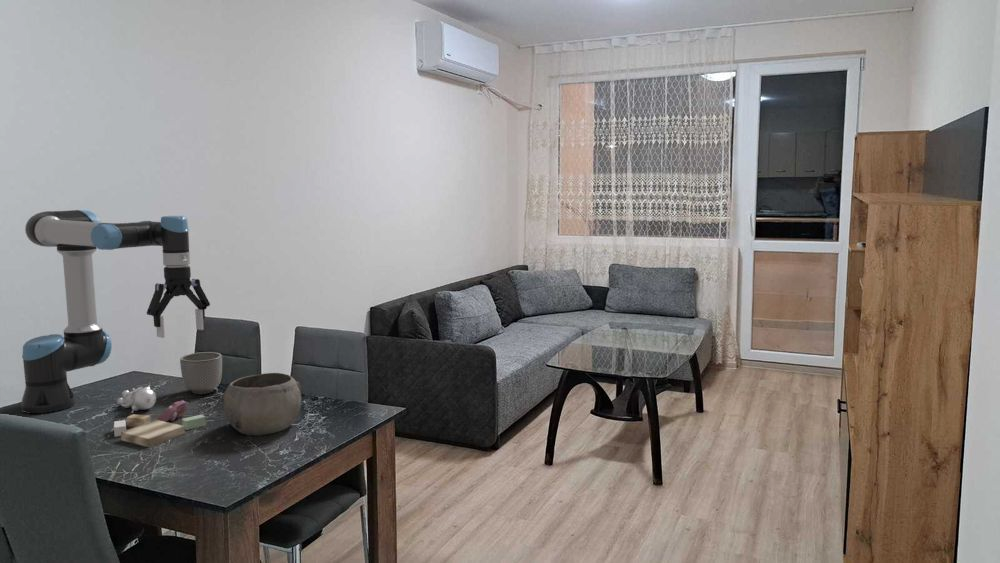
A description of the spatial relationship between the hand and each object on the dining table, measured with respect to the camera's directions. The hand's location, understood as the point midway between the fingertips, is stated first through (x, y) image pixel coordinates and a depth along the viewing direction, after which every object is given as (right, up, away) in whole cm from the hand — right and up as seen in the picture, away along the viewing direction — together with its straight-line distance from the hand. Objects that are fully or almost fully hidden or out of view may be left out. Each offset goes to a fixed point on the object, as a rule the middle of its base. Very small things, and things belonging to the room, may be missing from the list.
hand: (180, 333), depth 222 cm
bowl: (+27, -29, -3) cm, 40 cm away
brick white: (-14, -29, -10) cm, 34 cm away
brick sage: (+6, -29, -4) cm, 30 cm away
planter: (-6, -24, +32) cm, 40 cm away
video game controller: (-3, -28, +3) cm, 28 cm away
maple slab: (-2, -30, -13) cm, 33 cm away
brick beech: (-12, -28, -3) cm, 31 cm away
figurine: (-20, -26, +13) cm, 36 cm away
